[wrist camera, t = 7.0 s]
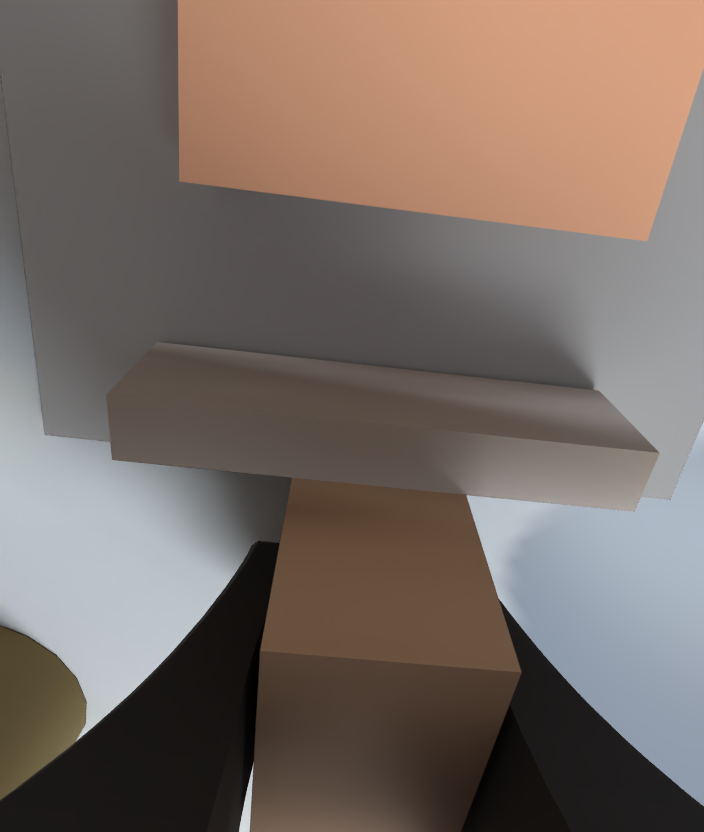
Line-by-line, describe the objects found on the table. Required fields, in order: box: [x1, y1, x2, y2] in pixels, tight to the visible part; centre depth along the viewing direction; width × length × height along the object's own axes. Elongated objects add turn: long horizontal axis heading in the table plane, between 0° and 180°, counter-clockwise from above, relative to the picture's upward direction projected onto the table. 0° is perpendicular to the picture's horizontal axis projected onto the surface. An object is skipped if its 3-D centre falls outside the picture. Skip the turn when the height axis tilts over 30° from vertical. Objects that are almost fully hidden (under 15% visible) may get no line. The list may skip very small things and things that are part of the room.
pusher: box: [106, 342, 660, 832], centre depth 10 cm, size 7×9×6 cm
